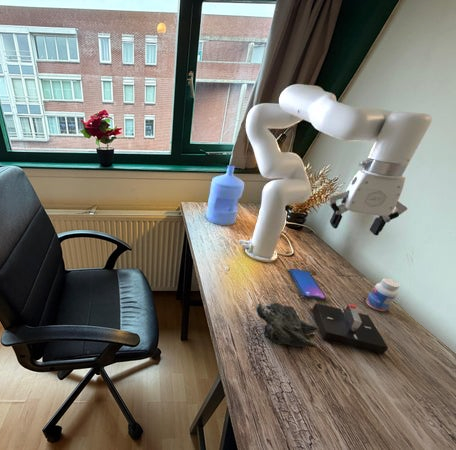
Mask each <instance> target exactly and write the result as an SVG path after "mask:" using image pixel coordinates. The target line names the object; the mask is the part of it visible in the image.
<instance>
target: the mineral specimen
mask: <svg viewBox="0 0 456 450" xmlns="http://www.w3.org/2000/svg"><path fill="white" fill-rule="evenodd" d="M255 312H256V313H257V316H258V318H260V319H262V320H263V321H265V323H266V325H265V326H264V333H263V334H264V336H263V337H264V338H265V339H266V340H268V342H271V343H274V344H280V345H281V344H282V345H290V346H293V347H300V348H303V347H308V348H311V349H318V345H317V344H316V343H315V342H313V341H312V339H313V338H315V337H316V334H315V333H314V332H318V331H319V328H318V326H316V325H311V324H309V323H308V322H305V321H303V320H301V318H300V315H299V314H298V312H297V311H296V309H295V307H294V306H290V305H284V304H281V303H279V302H275V301H272V302H270V303H269V304H267V305H262V304H261V303H257V306H256V308H255Z"/></svg>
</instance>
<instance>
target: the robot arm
mask: <svg viewBox="0 0 456 450" xmlns="http://www.w3.org/2000/svg"><path fill="white" fill-rule="evenodd" d="M245 119H246V120H245V133H246V135H247V139H248V141H249V142H250V145H251V147H252V150H253V153H254V154H253V155H254V157H255V160H256V164H257V168H258V170H259V173H260V176H262V177H263V178H265V179H274V180H271V181H269V182H267V183H266V184H265V185H264V186H263V189H262V192H261V203H260V209H259V213H258V216H257V221H256V224H255V226H254V231H253V233H252V236H251V237H252V238H249V240H245V239H239V240H238V244H239V245H241V247H242V248H244V251H245V253H246V254H247V255H248V257H250V258H251V259H253V260H255V261H259V262H263V263H272V262H275V261H276V260H277V259H278V253H277V252H276V249H277V246H278V244H279V240H280V238H281V234H282V232H283V229H284V226H285V222H286V219H287V212H286V206H291V205H299V204H303V203H306V202H307V201H308V200H309V199H310V198H311V195H312V185H311V182H310V179H309V176H308V173H307V170H306V168H305V165H304V161H303V160H302V158H301V157H300V156H299V155H298V154H297V153H294V152H289V151H287V152H286V151H285V152H284V151H281V149H280V146H279V144H278V141H277V139H276V137H275V136H274V134H273V133H272V132H271V131H270V130H269V129H280V130H281V129H282V130H283V129H287V128H290V127H291V126H292V127H293V126H294V125H296V124H298V123H300V122H301V121H306V122H308V123H311V125H312V126H313V128H314V129H315V130H317V131H319V132H320V133H323V134H325V135H328V136H330V137H332V138H334V139H337V140H340V141H345V142H374V144H373V146H372V148H371V151H370V153H369V155H368V157H366V159H365V160H360V161H359V163H358V167H362V169H359V170H358V171H357V173H356V174H355V175H354V177H353V178H352V180H351V181H350V183H349V185H348V186H347V188H346V190H345V191H343V192H338V193H335V194H331V195H328V202H329V206H330V208H331V209H332V211H333V213H332V215H331V217H330V220H329V223H330V226H331V227H332V228H333V229H338V227H339V225H340V223H341V221H342V219H343V215H342V214H344V213H346V212H347V211H349V212H353V213H359V214H366V215H370V216H371V215H372V216H378V217H375V218H374V221H373V222H372V224H371V226H370V228H369V232H370V233H372V234H373V235H374V236H379V234H380V233H381V232H382V231H383V229H384V226H385V225H386V224H387V223H390V222H391V220H394V219H396V218H398V217H400V215H402V214H403V213H405V212H406V211H407V210H408V207H407V206H406V205H404V204H403V203H401V202H400V201H399V200H400V198H401V195H402V192H403V189H404V185H405V181H406V177H405V176H403V175H404V173H405V171H406V170H407V168H408V166H409V164H410V162H411V160H412V159H413V157H414V155H415V153H416V151H417V149H418V148H419V146H420V144H421V142H422V140H423V138H424V136H425V135H426V133H427V131H428V129H429V127H430V125H431V123H432V121H433V118H432V116H431V115H430V114H428V113H421V112H412V111H411V112H409V111H392V110H388V109H380V108H370V107H357V106H353V105H349V104H345V103H342V102H339V101H337V97H336V95H335V94H334V93H332V92H329V91H325V90H324V89H323V88H322V87H321V86H319V85H311V84H302V83H295V84H291V85H288V86H287V87H286V88H284V89H283V90H282V91H281V93H280V95H279V97H278V103H273V102H271V103H270V102H263V103H258V104H256V105H253V107H251V108H250V110H249V111H248V113H247V115H246V118H245ZM338 200H341V201H340V202H341V203H340V204H337V201H338Z"/></svg>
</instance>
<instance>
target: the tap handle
mask: <svg viewBox="0 0 456 450" xmlns="http://www.w3.org/2000/svg"><path fill="white" fill-rule="evenodd" d="M344 310H345V311H344V313H343V316H344V319H345V322H346V325H347V328H348V331H351V332H354V333H356V331H357V330H358V328H359V327H360V325H361V323H362V321H361V319H360V317H359V314H358V313H359V312H358V309H357V307H356V304H352V303H348V304H347V306H346V307H345V309H344Z"/></svg>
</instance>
